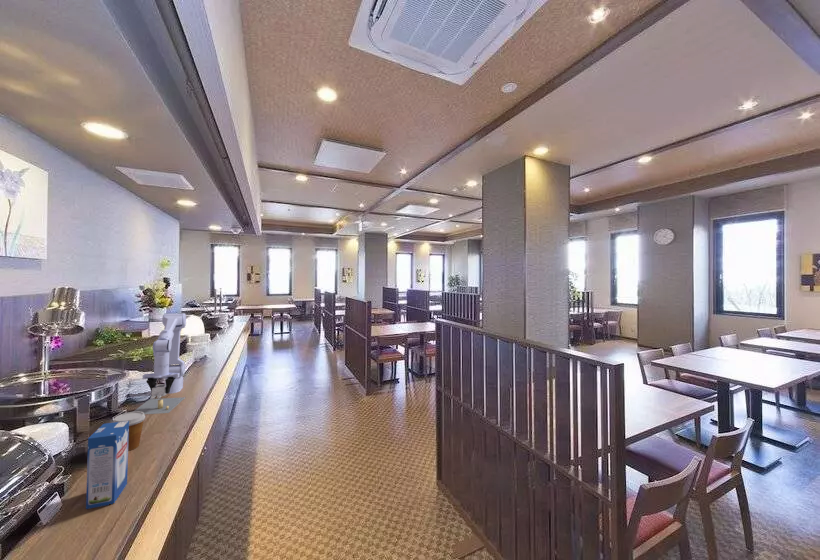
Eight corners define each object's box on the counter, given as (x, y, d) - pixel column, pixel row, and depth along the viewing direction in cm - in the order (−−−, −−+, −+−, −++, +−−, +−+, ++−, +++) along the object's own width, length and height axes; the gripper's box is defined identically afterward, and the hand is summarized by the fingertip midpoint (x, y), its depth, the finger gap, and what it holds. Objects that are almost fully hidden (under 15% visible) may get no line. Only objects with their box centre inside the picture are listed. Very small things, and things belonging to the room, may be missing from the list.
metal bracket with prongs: (157, 392, 160) (157, 384, 160) (169, 392, 161) (169, 383, 161) (148, 398, 152) (148, 390, 152) (161, 398, 153) (161, 389, 153)
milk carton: (101, 488, 102) (103, 423, 101) (127, 483, 104) (129, 420, 104) (85, 509, 92) (87, 438, 92) (114, 504, 95) (116, 434, 95)
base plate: (149, 401, 168) (150, 391, 168) (185, 399, 173) (185, 390, 173) (127, 417, 149) (128, 406, 149) (168, 415, 153) (169, 404, 153)
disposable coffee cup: (129, 454, 120) (130, 422, 120) (104, 453, 120) (105, 420, 120) (150, 441, 129) (151, 411, 129) (127, 440, 130) (128, 410, 130)
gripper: (139, 367, 152) (138, 397, 152) (175, 366, 156) (174, 395, 156) (147, 363, 159) (146, 391, 159) (181, 362, 163) (180, 390, 163)
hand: (160, 393), depth 158 cm, fingers closed on metal bracket with prongs, 5 cm apart
